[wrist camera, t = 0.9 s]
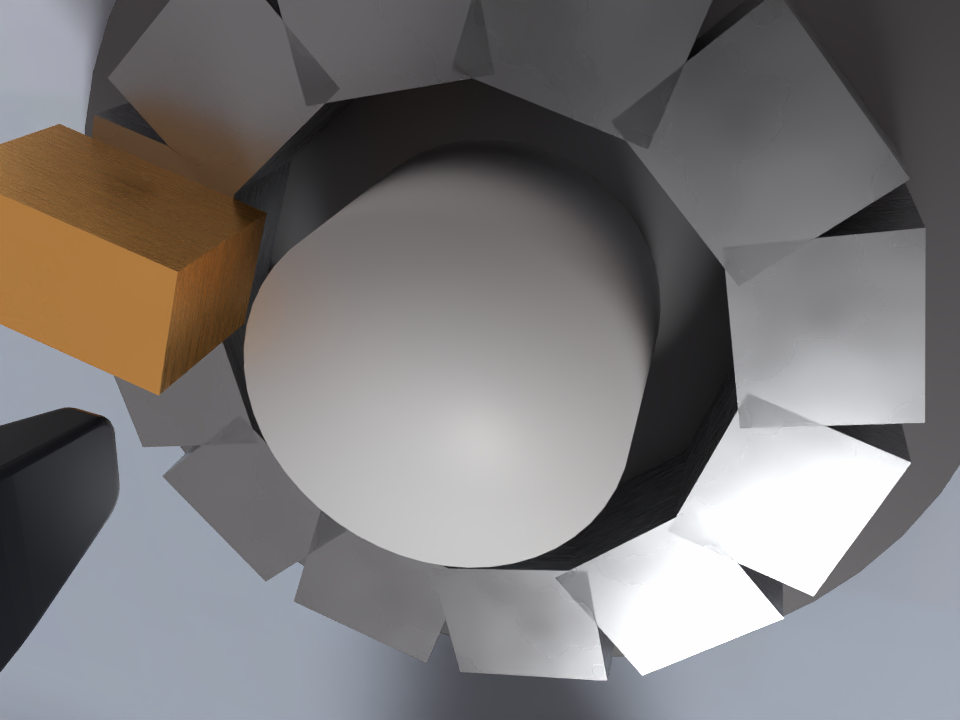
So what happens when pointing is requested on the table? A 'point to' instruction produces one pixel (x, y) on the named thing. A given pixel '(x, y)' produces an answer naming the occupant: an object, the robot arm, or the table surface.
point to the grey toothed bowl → (585, 98)
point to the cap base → (696, 278)
